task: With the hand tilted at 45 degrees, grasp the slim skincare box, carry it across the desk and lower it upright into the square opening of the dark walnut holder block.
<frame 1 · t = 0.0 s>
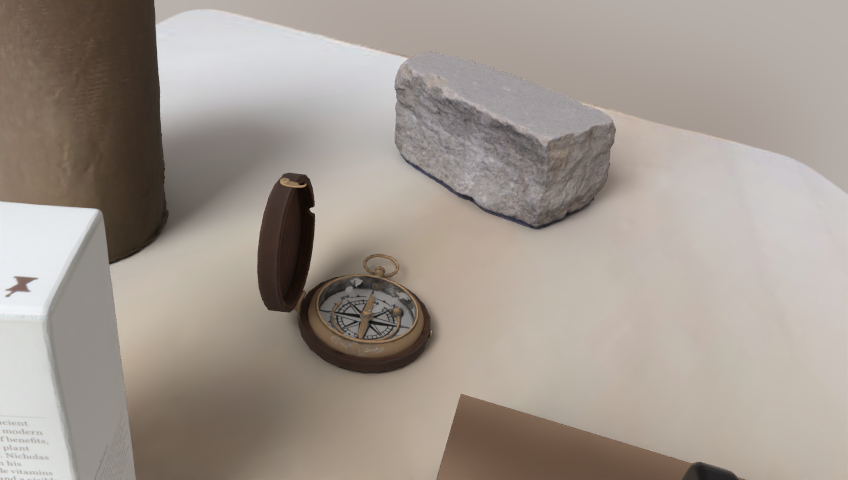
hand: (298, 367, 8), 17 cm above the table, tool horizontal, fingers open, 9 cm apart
pillar candle: (67, 218, 37), on the table
decorative stone: (485, 187, 47), on the table
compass: (351, 316, 34), on the table
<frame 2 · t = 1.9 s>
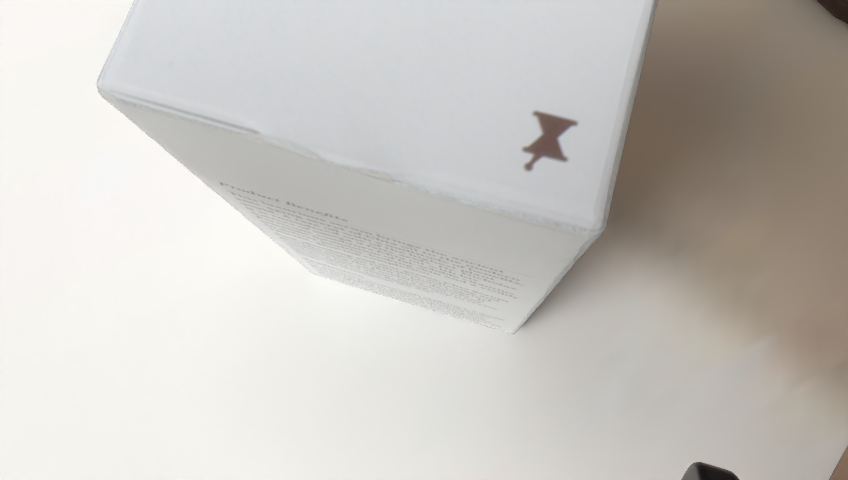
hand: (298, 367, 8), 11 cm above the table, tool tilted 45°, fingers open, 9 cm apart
skincare box: (430, 234, 20), on the table
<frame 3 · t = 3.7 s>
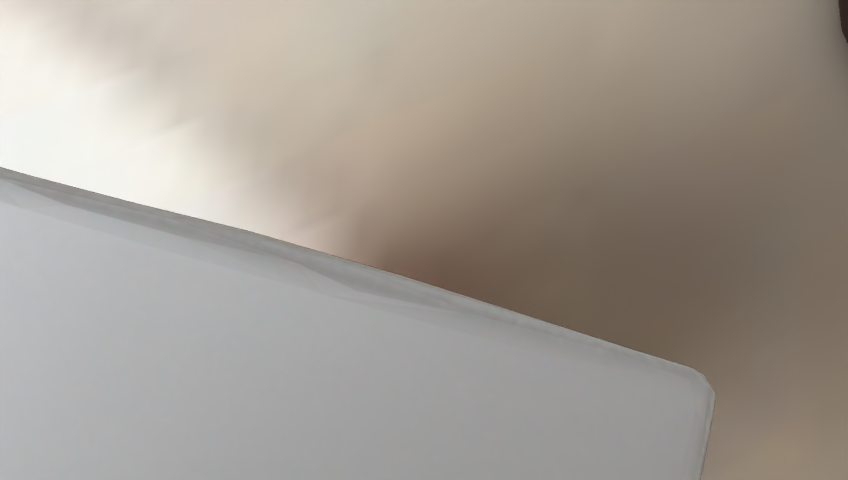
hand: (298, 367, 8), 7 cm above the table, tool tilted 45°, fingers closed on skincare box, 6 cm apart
skincare box: (349, 441, 15), on the table, touching gripper
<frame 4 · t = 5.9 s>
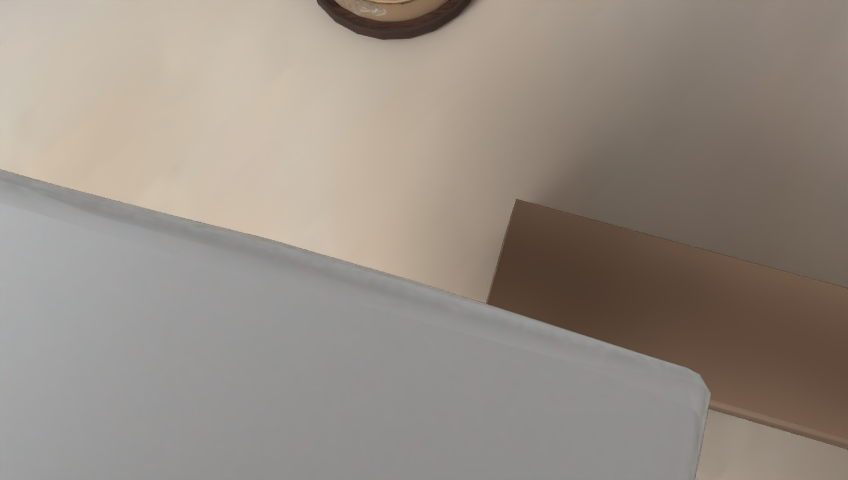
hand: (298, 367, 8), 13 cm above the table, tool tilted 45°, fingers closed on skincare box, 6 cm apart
skincare box: (344, 433, 15), point 6 cm above the table, touching gripper
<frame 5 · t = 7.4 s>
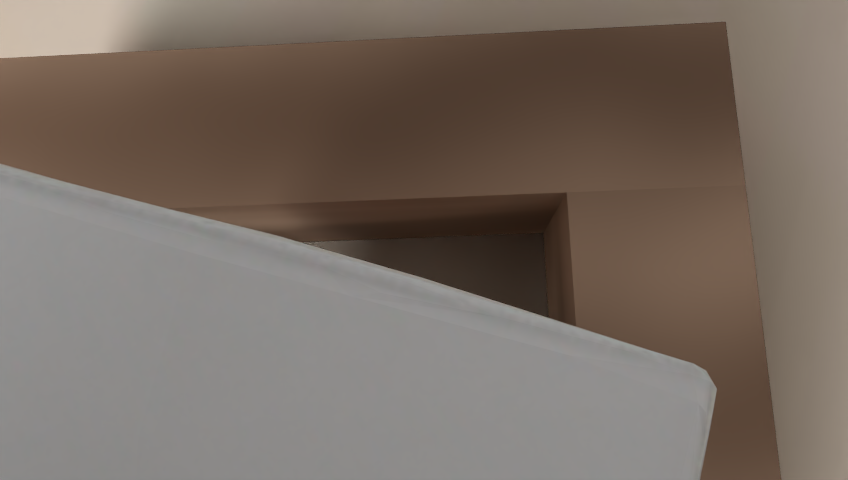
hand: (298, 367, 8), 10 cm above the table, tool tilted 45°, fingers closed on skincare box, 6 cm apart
skincare box: (348, 432, 15), point 3 cm above the table, touching gripper
holder block: (370, 418, 17), on the table
when the fingers open (8 cm above the table, at t = 8.3 s): skincare box stays where it is, resting in holder block.
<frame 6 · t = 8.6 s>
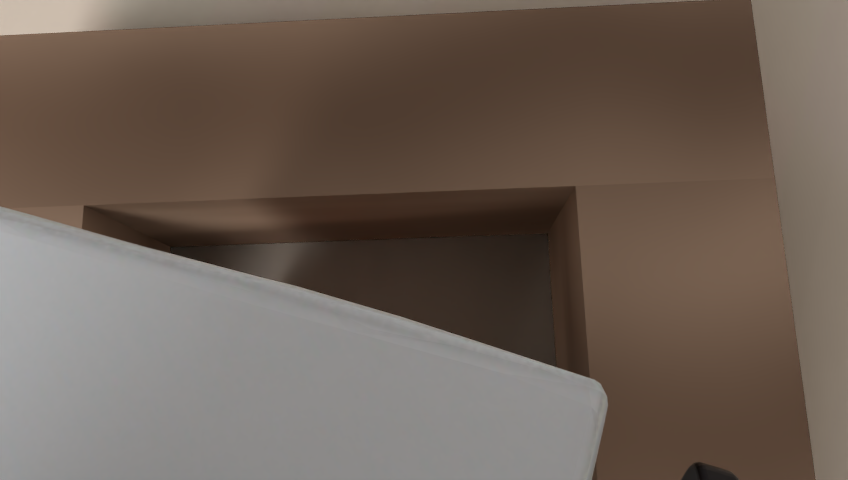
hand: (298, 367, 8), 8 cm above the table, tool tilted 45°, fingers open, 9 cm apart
skincare box: (353, 437, 16), resting in holder block
holder block: (358, 436, 16), on the table
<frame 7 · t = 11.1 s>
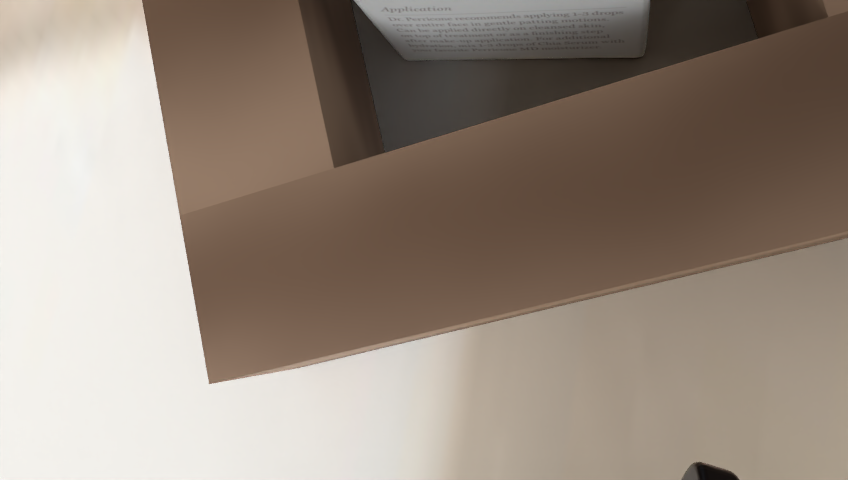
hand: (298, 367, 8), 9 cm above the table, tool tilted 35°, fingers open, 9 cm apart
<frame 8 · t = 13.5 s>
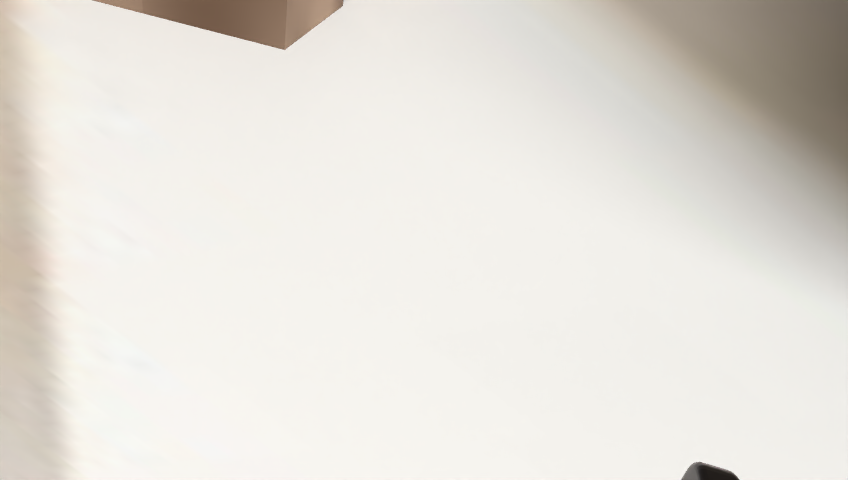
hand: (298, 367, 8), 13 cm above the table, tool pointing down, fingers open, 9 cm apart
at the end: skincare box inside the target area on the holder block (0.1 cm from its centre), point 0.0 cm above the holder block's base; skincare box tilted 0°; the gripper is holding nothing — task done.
